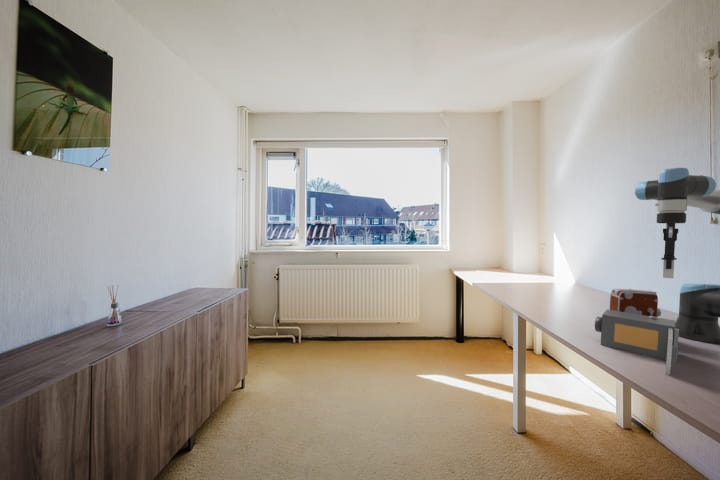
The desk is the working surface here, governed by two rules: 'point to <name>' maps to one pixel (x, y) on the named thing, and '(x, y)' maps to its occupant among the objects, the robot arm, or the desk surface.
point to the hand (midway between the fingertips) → (668, 277)
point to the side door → (670, 352)
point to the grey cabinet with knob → (636, 333)
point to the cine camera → (635, 302)
